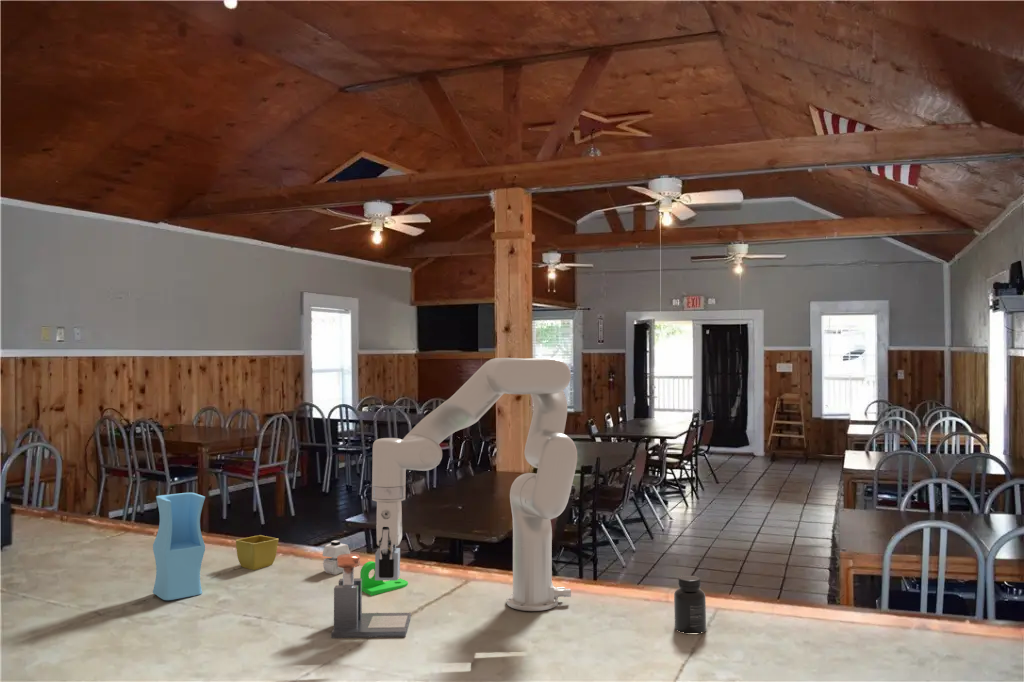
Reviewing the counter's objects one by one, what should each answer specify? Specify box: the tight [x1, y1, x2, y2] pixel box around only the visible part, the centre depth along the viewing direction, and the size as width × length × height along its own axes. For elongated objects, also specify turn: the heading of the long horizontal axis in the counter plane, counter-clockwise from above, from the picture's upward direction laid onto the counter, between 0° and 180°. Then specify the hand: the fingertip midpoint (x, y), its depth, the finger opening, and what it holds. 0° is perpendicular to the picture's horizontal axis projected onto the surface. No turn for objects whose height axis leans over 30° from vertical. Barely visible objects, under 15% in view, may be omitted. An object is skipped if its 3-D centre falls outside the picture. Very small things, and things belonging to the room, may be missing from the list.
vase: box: [152, 492, 206, 601], centre depth 205 cm, size 10×10×25 cm
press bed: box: [331, 577, 412, 639], centre depth 178 cm, size 16×13×10 cm
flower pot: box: [235, 534, 279, 571], centre depth 227 cm, size 9×9×9 cm
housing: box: [374, 547, 401, 581], centre depth 178 cm, size 5×5×6 cm
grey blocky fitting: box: [322, 540, 351, 575], centre depth 220 cm, size 6×7×10 cm
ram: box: [337, 553, 361, 585], centre depth 178 cm, size 5×5×12 cm
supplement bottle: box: [673, 575, 707, 633], centre depth 175 cm, size 7×7×12 cm
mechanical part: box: [359, 560, 409, 597], centre depth 206 cm, size 12×6×8 cm, turn 128°
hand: (387, 573), depth 178 cm, fingers closed on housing, 4 cm apart
